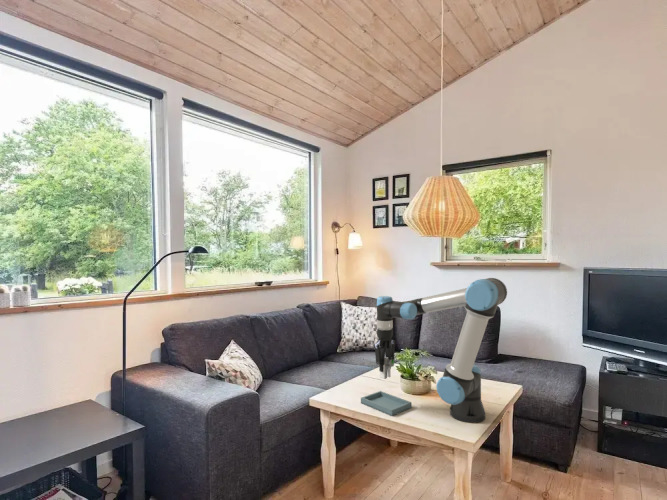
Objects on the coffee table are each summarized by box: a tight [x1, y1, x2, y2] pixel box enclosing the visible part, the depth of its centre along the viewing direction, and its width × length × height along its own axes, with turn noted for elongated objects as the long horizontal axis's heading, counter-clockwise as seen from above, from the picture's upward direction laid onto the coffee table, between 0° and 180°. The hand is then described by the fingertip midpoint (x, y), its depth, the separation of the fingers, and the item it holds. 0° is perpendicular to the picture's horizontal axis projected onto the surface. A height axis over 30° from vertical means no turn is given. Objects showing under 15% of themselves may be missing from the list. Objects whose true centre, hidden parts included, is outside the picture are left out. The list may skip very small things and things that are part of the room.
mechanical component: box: [377, 356, 395, 380], centre depth 185 cm, size 3×10×10 cm, turn 42°
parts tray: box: [360, 390, 413, 417], centre depth 185 cm, size 20×14×3 cm
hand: (385, 377), depth 185 cm, fingers closed on mechanical component, 3 cm apart
